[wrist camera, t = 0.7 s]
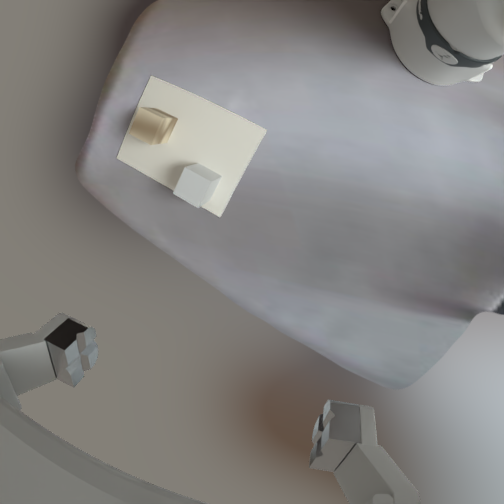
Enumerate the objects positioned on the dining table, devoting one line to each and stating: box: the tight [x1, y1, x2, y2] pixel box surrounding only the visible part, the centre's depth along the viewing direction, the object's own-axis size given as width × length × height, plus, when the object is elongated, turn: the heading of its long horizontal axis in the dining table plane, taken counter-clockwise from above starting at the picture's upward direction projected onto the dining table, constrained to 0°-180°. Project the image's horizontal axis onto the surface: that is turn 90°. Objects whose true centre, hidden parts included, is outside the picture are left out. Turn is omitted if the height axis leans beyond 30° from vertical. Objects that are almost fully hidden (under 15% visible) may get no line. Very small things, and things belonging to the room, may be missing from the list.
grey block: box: [173, 163, 222, 208], centre depth 48 cm, size 4×4×6 cm
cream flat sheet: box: [117, 76, 267, 217], centre depth 49 cm, size 16×22×1 cm
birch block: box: [129, 107, 178, 145], centre depth 46 cm, size 4×4×6 cm
